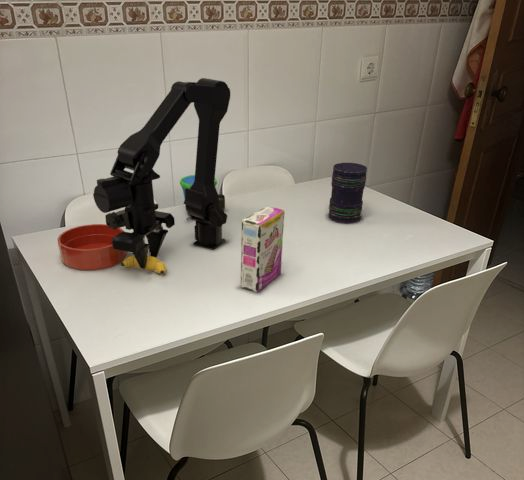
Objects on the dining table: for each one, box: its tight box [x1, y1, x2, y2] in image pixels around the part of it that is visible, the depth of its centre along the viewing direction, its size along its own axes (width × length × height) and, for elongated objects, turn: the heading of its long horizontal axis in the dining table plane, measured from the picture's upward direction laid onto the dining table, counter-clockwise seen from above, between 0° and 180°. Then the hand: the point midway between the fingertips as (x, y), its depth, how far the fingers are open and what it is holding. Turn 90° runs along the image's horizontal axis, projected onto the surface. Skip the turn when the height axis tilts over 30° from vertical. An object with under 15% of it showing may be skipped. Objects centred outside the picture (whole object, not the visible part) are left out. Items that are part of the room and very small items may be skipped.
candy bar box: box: [240, 205, 285, 293], centre depth 119 cm, size 11×5×16 cm, turn 150°
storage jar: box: [328, 162, 368, 225], centre depth 155 cm, size 10×10×15 cm
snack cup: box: [179, 174, 218, 200], centre depth 156 cm, size 16×10×10 cm
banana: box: [120, 255, 167, 275], centre depth 127 cm, size 12×4×3 cm, turn 69°
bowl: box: [57, 223, 129, 272], centre depth 131 cm, size 16×16×6 cm
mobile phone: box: [186, 193, 226, 221], centre depth 157 cm, size 5×3×15 cm
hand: (148, 263), depth 128 cm, fingers open, 5 cm apart
